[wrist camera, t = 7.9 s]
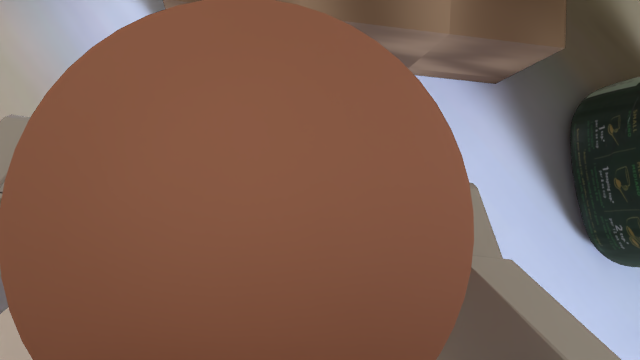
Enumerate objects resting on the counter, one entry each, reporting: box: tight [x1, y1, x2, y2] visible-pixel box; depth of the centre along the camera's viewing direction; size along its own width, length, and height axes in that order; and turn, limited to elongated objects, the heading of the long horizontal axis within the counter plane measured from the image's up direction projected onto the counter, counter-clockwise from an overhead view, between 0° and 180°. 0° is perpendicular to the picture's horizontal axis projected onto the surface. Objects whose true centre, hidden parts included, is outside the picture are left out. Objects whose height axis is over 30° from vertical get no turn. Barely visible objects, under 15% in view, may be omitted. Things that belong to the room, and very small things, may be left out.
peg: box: [0, 0, 474, 360], centre depth 10 cm, size 4×4×10 cm
